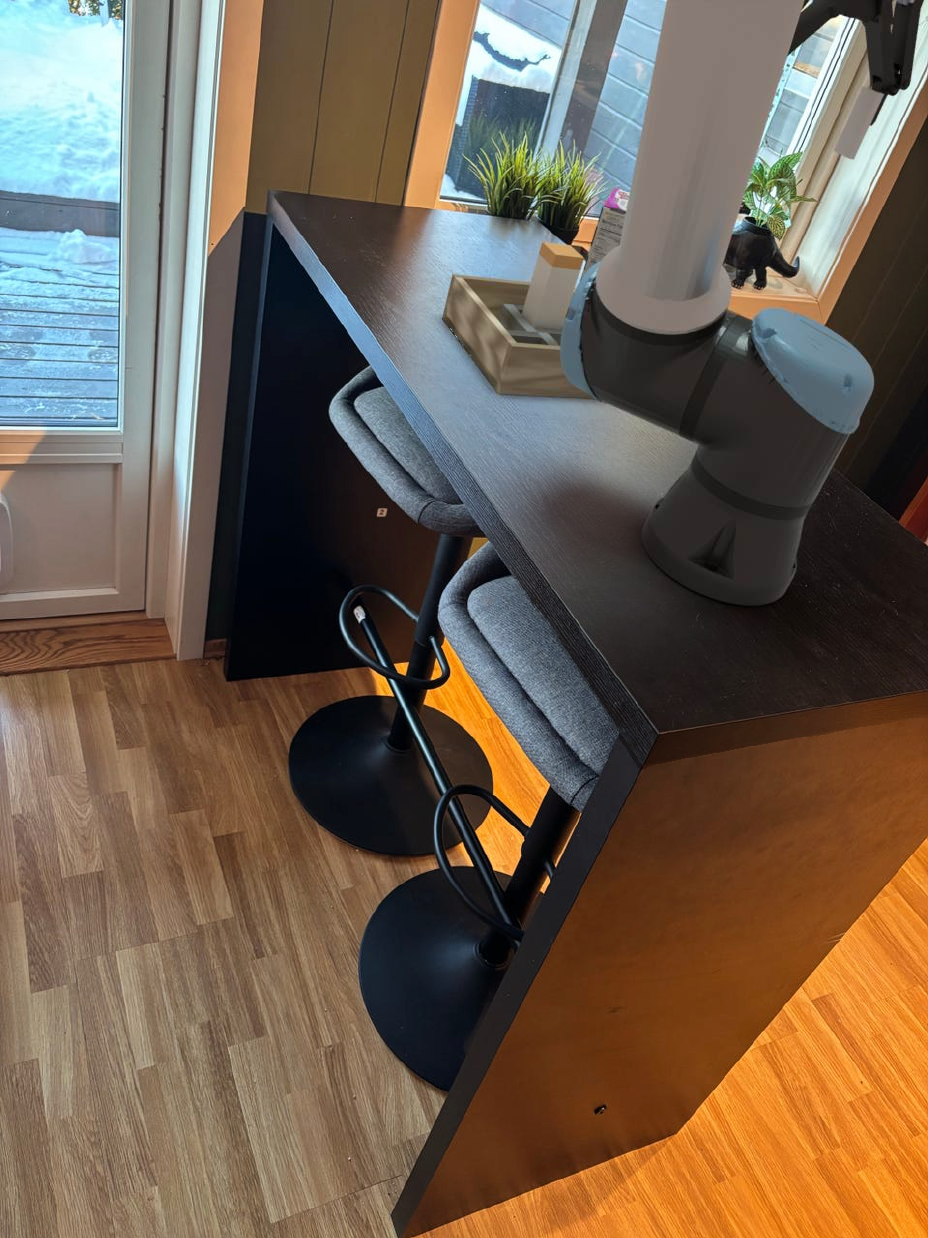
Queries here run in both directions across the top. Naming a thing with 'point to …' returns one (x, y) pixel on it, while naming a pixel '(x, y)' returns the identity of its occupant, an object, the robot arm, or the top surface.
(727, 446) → the robot arm
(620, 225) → the candy bar box
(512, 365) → the walled box
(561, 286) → the plug
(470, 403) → the top surface
